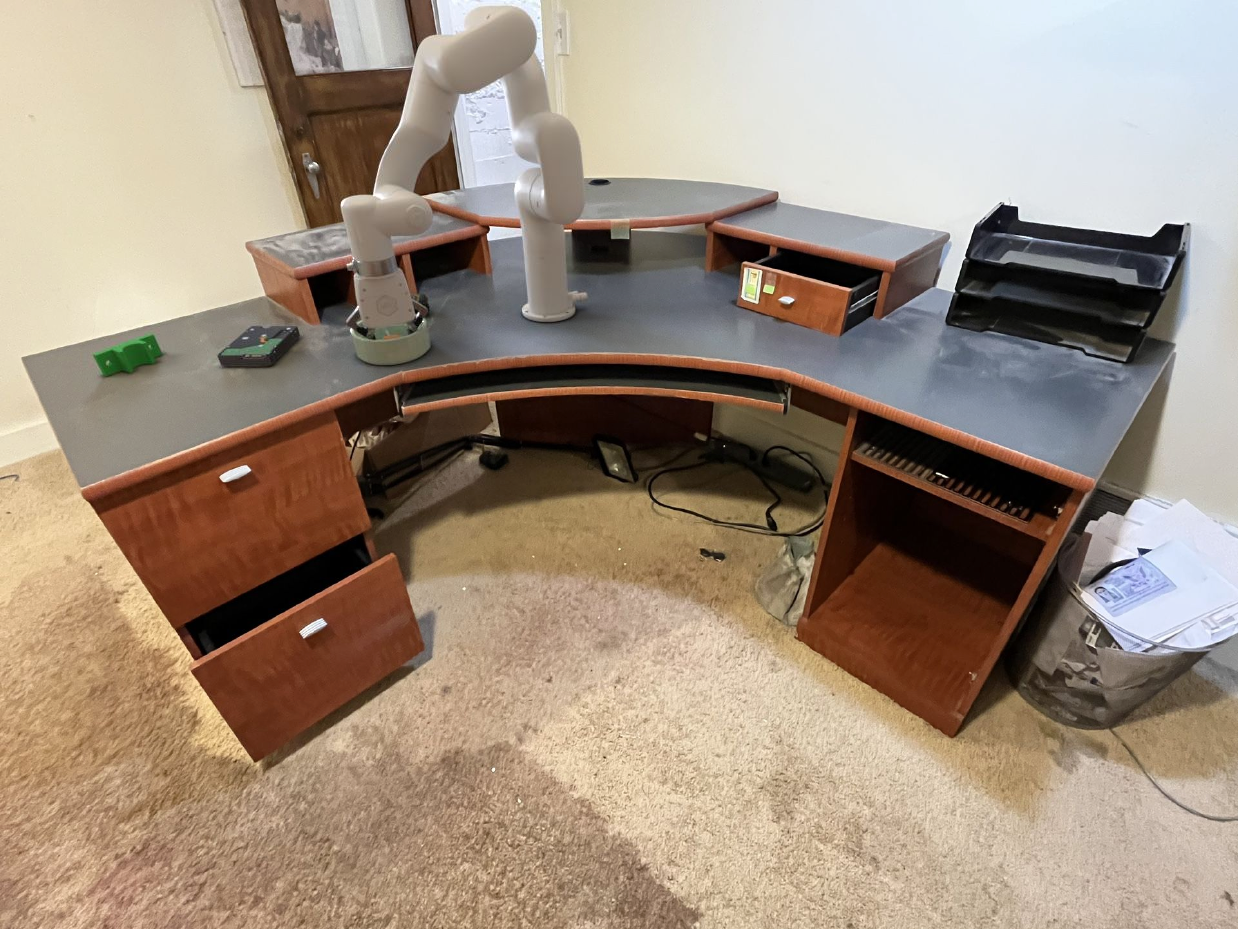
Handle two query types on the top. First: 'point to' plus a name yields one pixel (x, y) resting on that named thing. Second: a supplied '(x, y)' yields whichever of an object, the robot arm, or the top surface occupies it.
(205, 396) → the top surface
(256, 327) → the disk drive
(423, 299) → the tape measure
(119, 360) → the pipe clamp
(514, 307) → the top surface
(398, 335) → the orange block with pin
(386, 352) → the bowl
